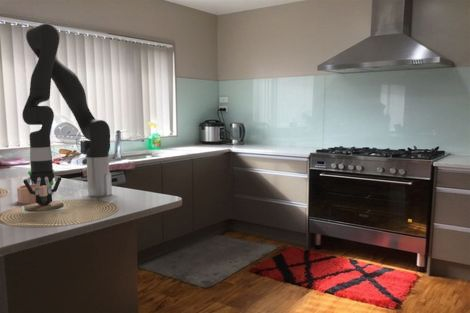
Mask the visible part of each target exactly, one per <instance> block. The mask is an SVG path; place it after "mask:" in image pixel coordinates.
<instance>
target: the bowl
mask: <svg viewBox="0 0 470 313" xmlns="http://www.w3.org/2000/svg"><path fill="white" fill-rule="evenodd" d="M29 185H30V186H31V188H32V190H34V191H35V189H36V184H32V183H30V184H29ZM16 189H17V190H16V191H17V192H16V193H17V203H18V204H23V205H28V204H32V203H36V196H35V195H34V194H30V192H29V191H28V189H27V187H26V186H25V184H23V185H19V186H17V187H16ZM39 195H40V196H42V195H48V192H47V186H45V185H42V186H40V189H39Z"/></svg>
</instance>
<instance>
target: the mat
mask: <svg viewBox="0 0 470 313" xmlns="http://www.w3.org/2000/svg"><path fill="white" fill-rule="evenodd" d="M60 202H63V204H64V206H63V207H61V208H58V209H54V210H48V211H26V210H25V208H24V207H25V206H26V205H27V204H23V205H21V211H22V214H23V215H25V214H26V215H27V214H36V213H37V214H38V213H44V212H53V211H62V210H68V207H67V206H66V204H65V202H64V201H63V200H61V201H60Z"/></svg>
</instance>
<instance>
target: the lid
mask: <svg viewBox="0 0 470 313" xmlns="http://www.w3.org/2000/svg"><path fill="white" fill-rule="evenodd" d="M63 202H64V201H63ZM63 202H61V201H59V200H58V201H57V200H52V202H50V204H48V194H47V195H42V196H40V205H38V203H30V204H25V205H26V206H25V207H24V208H25V210H26V211H46V212H49V211H48V210H54V209H58V208H61V207H63V206H64V204H65V203H64V204H63Z"/></svg>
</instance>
